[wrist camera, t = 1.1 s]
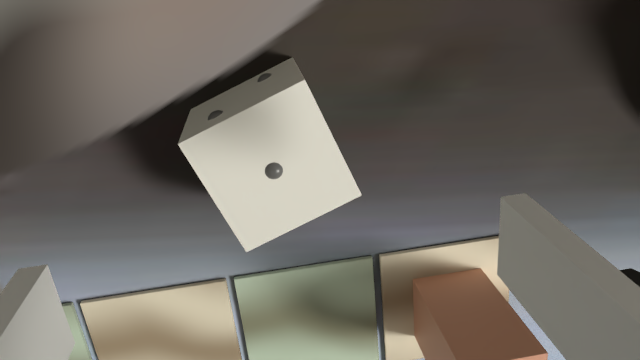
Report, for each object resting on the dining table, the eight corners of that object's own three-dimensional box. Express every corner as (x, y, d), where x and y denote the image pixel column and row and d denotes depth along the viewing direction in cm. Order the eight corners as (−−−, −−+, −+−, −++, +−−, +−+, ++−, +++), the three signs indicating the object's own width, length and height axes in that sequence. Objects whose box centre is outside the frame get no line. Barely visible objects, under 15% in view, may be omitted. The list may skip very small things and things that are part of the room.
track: (503, 340, 36) (506, 343, 36) (-27, 433, 33) (-30, 437, 33) (509, 233, 33) (512, 236, 33) (-80, 325, 30) (-83, 329, 30)
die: (339, 152, 29) (362, 197, 24) (245, 199, 30) (246, 254, 24) (290, 53, 27) (303, 76, 21) (188, 105, 27) (174, 141, 22)
